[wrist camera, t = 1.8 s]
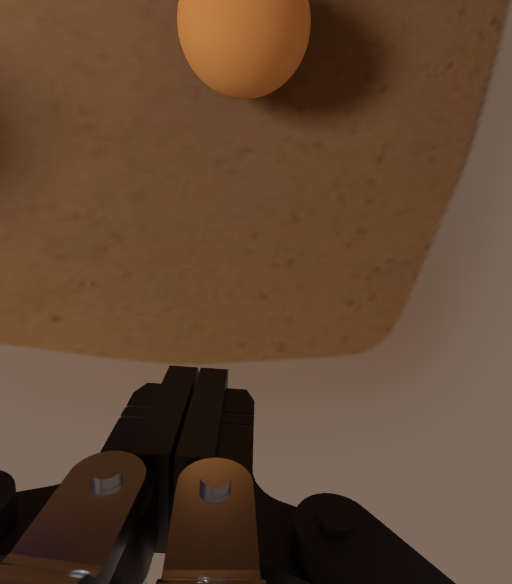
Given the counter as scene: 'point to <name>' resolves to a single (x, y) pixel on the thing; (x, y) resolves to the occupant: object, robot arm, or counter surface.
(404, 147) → the counter surface
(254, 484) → the robot arm
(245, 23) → the ball
